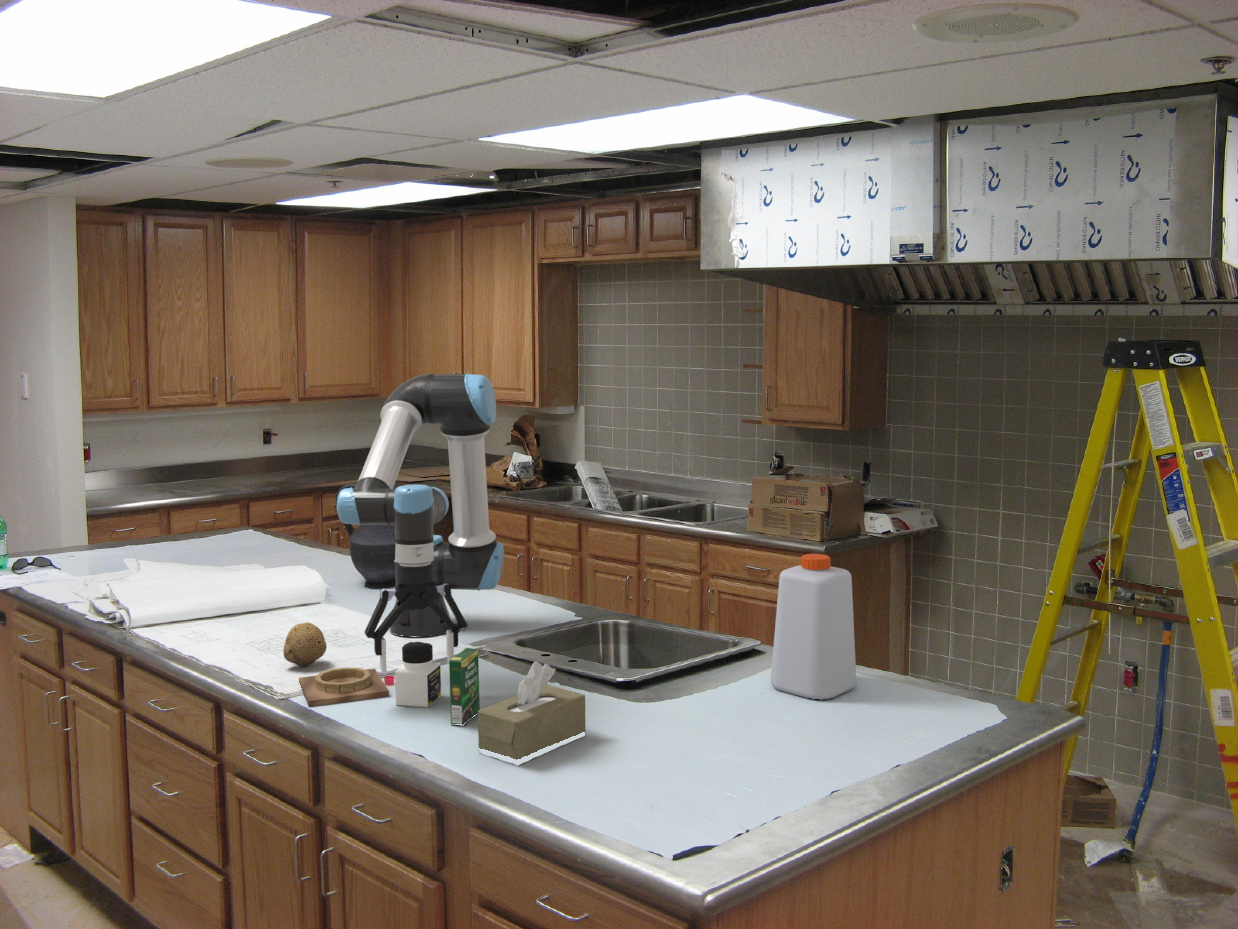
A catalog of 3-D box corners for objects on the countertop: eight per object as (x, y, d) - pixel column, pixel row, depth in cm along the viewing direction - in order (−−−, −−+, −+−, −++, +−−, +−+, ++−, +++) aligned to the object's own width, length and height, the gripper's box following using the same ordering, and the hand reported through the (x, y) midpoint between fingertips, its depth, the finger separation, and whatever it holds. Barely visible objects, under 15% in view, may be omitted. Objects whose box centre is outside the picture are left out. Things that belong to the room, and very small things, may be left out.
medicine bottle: (428, 708, 220) (427, 649, 218) (395, 705, 221) (393, 647, 220) (441, 696, 227) (440, 639, 225) (408, 694, 228) (407, 637, 227)
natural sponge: (336, 664, 249) (334, 620, 247) (309, 675, 241) (308, 630, 239) (304, 658, 252) (302, 616, 251) (277, 670, 244) (275, 625, 243)
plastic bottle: (762, 688, 231) (764, 556, 228) (802, 671, 242) (805, 545, 239) (824, 705, 221) (827, 567, 218) (863, 686, 232) (867, 555, 229)
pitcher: (404, 592, 314) (401, 488, 311) (331, 592, 315) (327, 488, 311) (416, 578, 332) (413, 479, 328) (346, 578, 332) (343, 479, 328)
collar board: (374, 673, 241) (374, 660, 241) (389, 696, 227) (388, 682, 226) (299, 683, 235) (298, 669, 235) (308, 707, 221) (308, 692, 220)
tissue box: (516, 768, 191) (514, 679, 189) (476, 754, 197) (474, 668, 195) (587, 736, 205) (586, 653, 203) (548, 724, 211) (547, 644, 209)
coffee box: (463, 727, 209) (461, 660, 208) (449, 726, 210) (447, 659, 208) (481, 713, 217) (479, 648, 215) (467, 712, 218) (466, 647, 216)
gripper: (354, 571, 212) (357, 679, 215) (480, 561, 222) (482, 664, 224) (348, 564, 219) (351, 668, 221) (471, 554, 229) (472, 655, 231)
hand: (417, 667), depth 223 cm, fingers open, 13 cm apart
